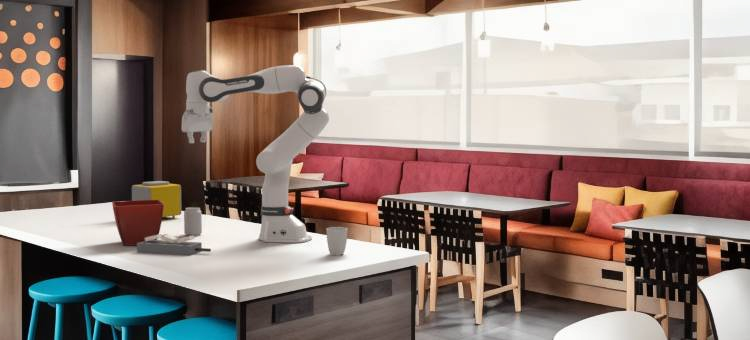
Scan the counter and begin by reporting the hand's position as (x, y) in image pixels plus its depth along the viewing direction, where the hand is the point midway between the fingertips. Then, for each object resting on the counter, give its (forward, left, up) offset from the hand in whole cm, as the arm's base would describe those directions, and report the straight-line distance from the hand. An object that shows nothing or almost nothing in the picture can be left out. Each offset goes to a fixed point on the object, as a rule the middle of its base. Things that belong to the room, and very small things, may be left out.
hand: (197, 142), depth 358 cm
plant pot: (+20, +14, -41) cm, 48 cm away
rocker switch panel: (-6, +29, -41) cm, 50 cm away
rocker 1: (+4, +29, -36) cm, 46 cm away
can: (+9, -12, -41) cm, 44 cm away
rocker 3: (-10, +29, -36) cm, 47 cm away
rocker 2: (-3, +29, -36) cm, 46 cm away
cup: (-67, +15, -41) cm, 80 cm away
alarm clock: (+52, -54, -41) cm, 86 cm away
